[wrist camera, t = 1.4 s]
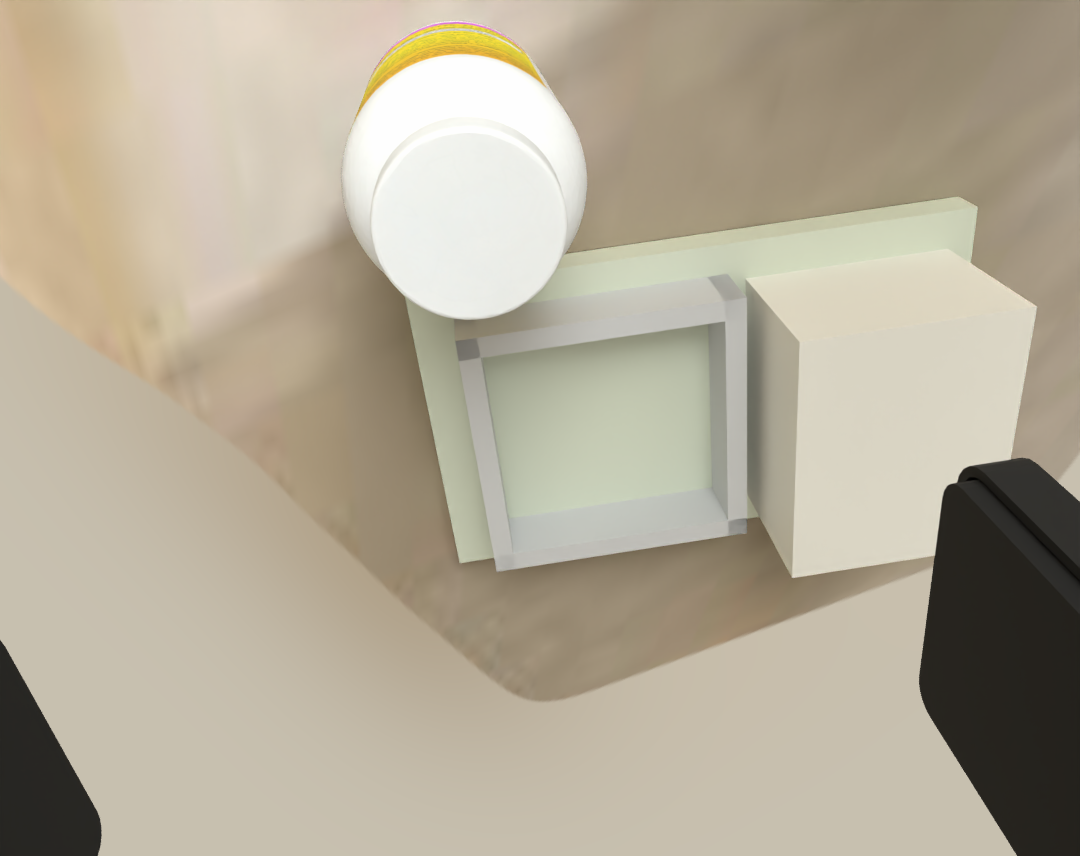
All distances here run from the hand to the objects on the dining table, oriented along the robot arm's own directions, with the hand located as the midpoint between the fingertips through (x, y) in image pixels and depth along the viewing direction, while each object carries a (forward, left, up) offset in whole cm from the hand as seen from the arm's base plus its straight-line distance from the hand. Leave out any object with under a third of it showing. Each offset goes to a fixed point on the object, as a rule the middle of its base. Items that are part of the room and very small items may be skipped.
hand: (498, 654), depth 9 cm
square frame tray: (-8, +12, -27) cm, 30 cm away
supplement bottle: (0, 0, -27) cm, 27 cm away
